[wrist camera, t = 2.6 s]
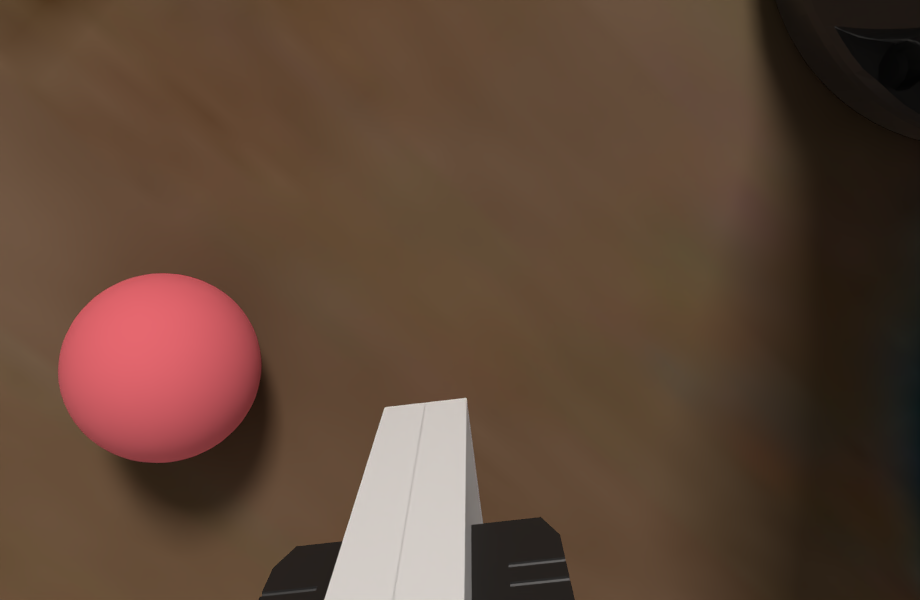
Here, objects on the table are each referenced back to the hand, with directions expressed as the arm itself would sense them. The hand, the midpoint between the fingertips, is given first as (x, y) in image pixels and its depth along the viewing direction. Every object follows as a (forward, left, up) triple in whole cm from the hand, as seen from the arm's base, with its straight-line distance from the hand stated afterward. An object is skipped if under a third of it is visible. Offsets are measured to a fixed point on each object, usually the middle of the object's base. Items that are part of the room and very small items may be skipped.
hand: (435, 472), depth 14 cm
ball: (+9, 0, -10) cm, 14 cm away
